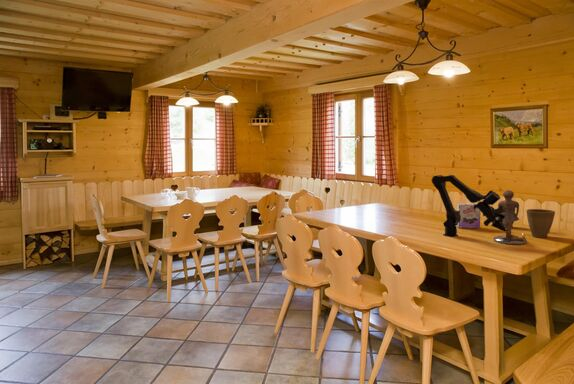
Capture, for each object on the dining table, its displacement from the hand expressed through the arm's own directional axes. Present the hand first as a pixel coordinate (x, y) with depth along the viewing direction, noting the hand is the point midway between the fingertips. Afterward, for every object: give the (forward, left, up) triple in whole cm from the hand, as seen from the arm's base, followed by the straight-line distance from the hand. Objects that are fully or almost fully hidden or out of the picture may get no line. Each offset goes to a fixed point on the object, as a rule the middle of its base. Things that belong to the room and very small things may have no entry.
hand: (505, 231), depth 240 cm
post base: (-2, +7, -7) cm, 11 cm away
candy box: (-42, +20, -8) cm, 48 cm away
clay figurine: (-29, +43, -7) cm, 53 cm away
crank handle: (0, +7, -5) cm, 9 cm away
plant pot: (-1, +33, -7) cm, 34 cm away
